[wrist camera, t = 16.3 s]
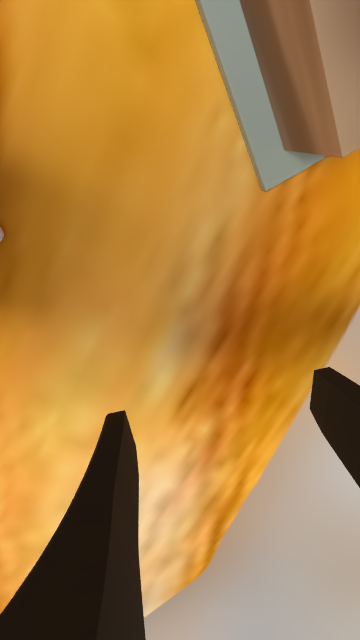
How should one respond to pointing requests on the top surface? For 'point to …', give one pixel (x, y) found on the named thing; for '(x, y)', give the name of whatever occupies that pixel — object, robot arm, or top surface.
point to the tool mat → (249, 93)
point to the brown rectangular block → (310, 70)
